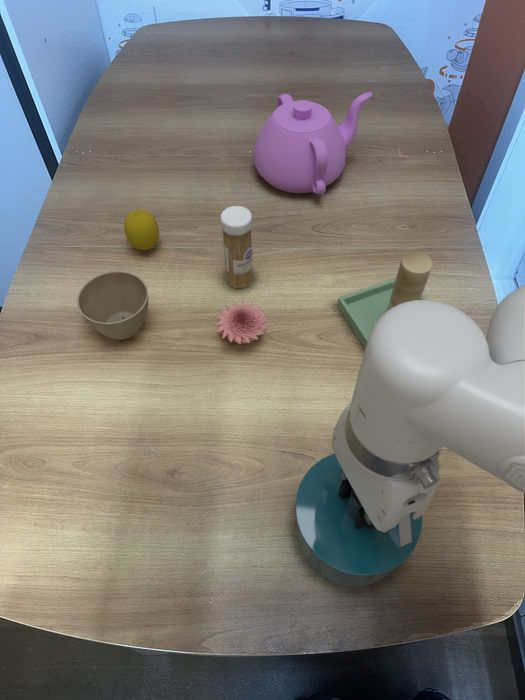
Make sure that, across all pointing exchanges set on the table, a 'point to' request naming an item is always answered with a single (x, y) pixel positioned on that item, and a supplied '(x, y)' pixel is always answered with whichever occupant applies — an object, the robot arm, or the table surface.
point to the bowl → (114, 303)
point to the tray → (366, 308)
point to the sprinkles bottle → (237, 245)
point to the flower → (242, 323)
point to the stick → (411, 278)
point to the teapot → (304, 145)
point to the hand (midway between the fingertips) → (359, 505)
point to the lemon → (141, 229)
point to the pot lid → (344, 526)
